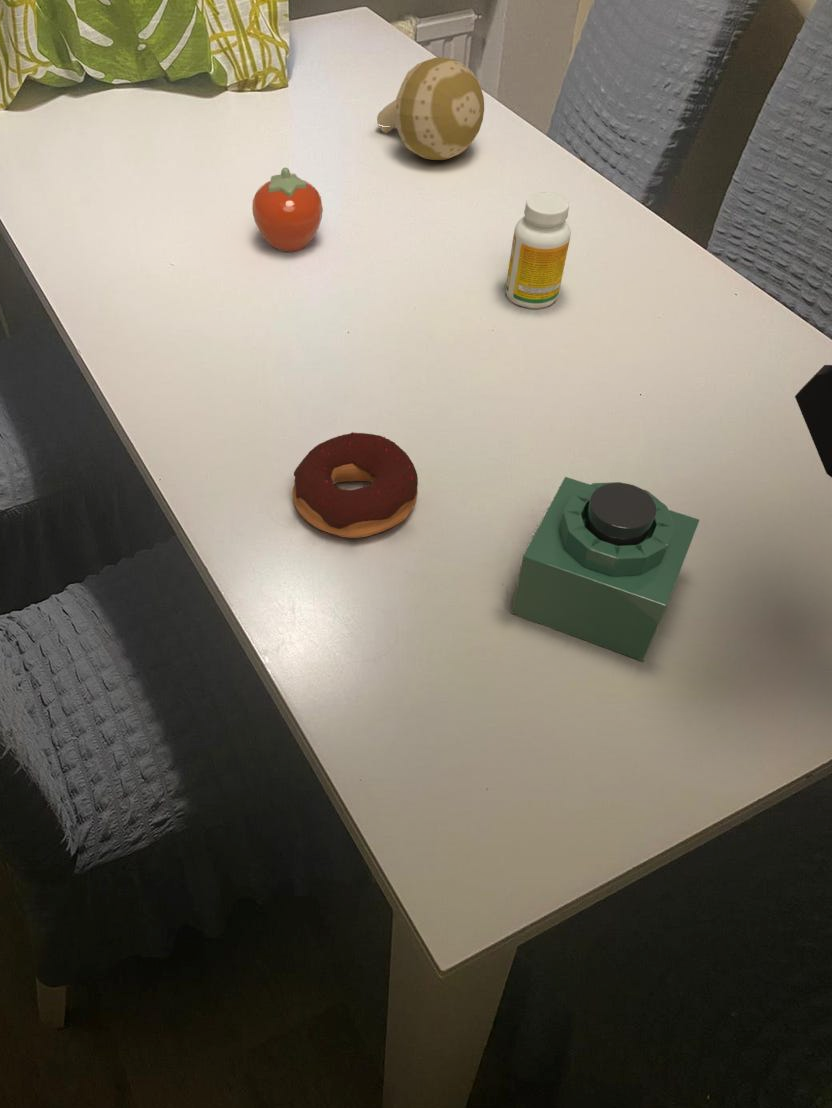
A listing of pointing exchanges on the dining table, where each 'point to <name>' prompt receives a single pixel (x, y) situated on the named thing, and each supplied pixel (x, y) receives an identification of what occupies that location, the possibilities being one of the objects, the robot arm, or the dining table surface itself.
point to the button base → (601, 574)
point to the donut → (361, 506)
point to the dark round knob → (620, 514)
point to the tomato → (287, 211)
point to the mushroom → (436, 109)
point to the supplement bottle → (539, 251)
